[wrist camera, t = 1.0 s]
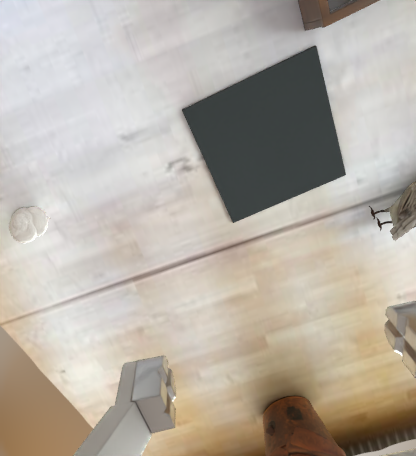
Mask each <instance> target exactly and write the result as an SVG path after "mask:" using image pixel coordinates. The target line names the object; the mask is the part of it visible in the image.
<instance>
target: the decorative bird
mask: <svg viewBox="0 0 416 456" xmlns="http://www.w3.org/2000/svg"><path fill="white" fill-rule="evenodd" d="M369 207H370V206H369ZM370 208H371V207H370ZM379 212H390V216H391V219H392V221H387V222H384V223H381V224H380V221H379V219H378V218H377V220H378V226H379V227H380V228H381V229H382V227H381V225H383V224H386V223H393V226H394V227H393V228H392V229H391V230H390V232H391V234H392V235H393V236H392V238H393V240H395V241H396V240H397V239H398V238H399V237H402V236H403V235H404V234H405V233H407V232H408V231H409V230H410V229H412V228H414V227H416V181H415V182H413V183H412V184H411V185H409V186H408V188H407V189H406V190H405V191H404V192H403V194H402V196H400V198H399V199H398V200H397V201H396V202H395V203H394V204H393V205H392V206H391V207H389V208H387V209H385V210H380V211H377V212H375V213H374V210H373V209H372V208H371V214H372V216H373V217H374V219H375V214H377V213H379ZM381 229H380V231H381Z"/></svg>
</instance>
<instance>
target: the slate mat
mask: <svg viewBox="0 0 416 456" xmlns="http://www.w3.org/2000/svg"><path fill="white" fill-rule="evenodd" d="M182 111H183V113H184V115H185V118H186V120H187V122H188V124H189V126H190V129H191V131H192V133H193V135H194V137H195V140H196V142H197V144H198V146H199V148H200V151H201V153H202V155H203V157H204V159H205V162H206V164H207V166H208V168H209V171H210V173H211V175H212V177H213V179H214V182H215V184H216V186H217V188H218V190H219V193H220V195H221V197H222V199H223V201H224V204H225V206H226V208H227V210H228V212H229V215H230V217H231V219H232V221H233V223H234V222H236V221H239V220H241V219H244V218H246V217H248V216H251V215H253V214H255V213H258V212H260V211H262V210H265V209H267V208H269V207H272V206H274V205H276V204H279V203H281V202H283V201H286V200H288V199H290V198H293V197H295V196H298V195H300V194H302V193H305V192H307V191H309V190H312V189H314V188H316V187H319V186H321V185H323V184H326V183H328V182H330V181H333V180H335V179H337V178H340V177H342V176H344V175H346V173H345V169H344V165H343V160H342V156H341V152H340V147H339V143H338V139H337V134H336V130H335V126H334V121H333V117H332V112H331V108H330V104H329V99H328V95H327V91H326V86H325V82H324V78H323V73H322V69H321V65H320V60H319V56H318V52H317V47H316V46H313V47H311V48H309V49H307V50H305V51H303V52H301V53H299V54H297V55H295V56H293V57H291V58H288V59H286V60H284V61H282V62H280V63H278V64H276V65H274V66H272V67H270V68H268V69H266V70H264V71H262V72H259V73H257V74H255V75H253V76H251V77H249V78H247V79H245V80H243V81H241V82H239V83H237V84H235V85H233V86H230V87H228V88H226V89H224V90H222V91H220V92H218V93H216V94H214V95H212V96H210V97H208V98H206V99H204V100H201V101H199V102H197V103H195V104H193V105H191V106H189V107H187V108H185V109H183V110H182Z"/></svg>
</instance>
